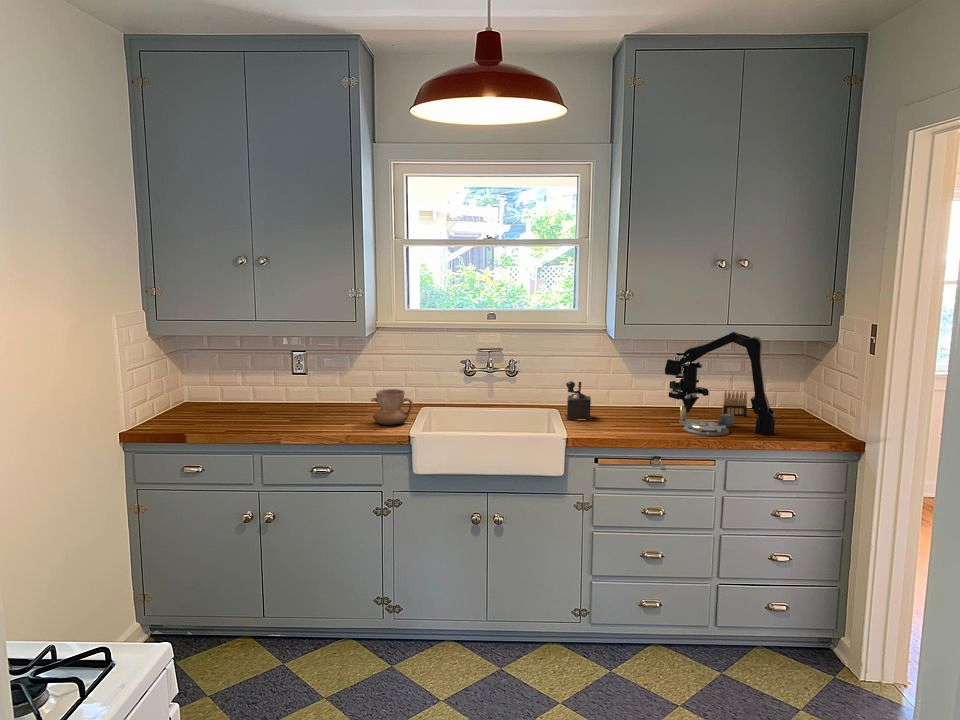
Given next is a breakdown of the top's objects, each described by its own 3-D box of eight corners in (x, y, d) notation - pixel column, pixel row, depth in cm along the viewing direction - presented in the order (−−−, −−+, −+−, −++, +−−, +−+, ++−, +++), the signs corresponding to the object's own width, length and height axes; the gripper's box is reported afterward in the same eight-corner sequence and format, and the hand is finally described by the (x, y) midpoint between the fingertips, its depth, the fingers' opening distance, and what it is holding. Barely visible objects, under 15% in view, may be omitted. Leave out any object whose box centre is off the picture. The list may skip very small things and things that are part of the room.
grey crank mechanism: (732, 428, 288) (733, 411, 287) (711, 434, 279) (712, 416, 278) (690, 419, 304) (691, 403, 303) (669, 424, 294) (670, 408, 293)
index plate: (738, 432, 287) (738, 430, 286) (708, 438, 277) (708, 435, 277) (703, 424, 302) (703, 421, 302) (674, 429, 292) (674, 426, 292)
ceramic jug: (369, 427, 292) (368, 394, 290) (372, 420, 307) (372, 388, 305) (412, 427, 293) (412, 394, 291) (413, 419, 308) (413, 388, 306)
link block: (733, 426, 299) (734, 414, 298) (724, 427, 295) (725, 416, 295) (727, 424, 301) (728, 413, 300) (718, 426, 298) (719, 414, 297)
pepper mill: (565, 414, 319) (566, 376, 316) (590, 415, 317) (591, 376, 314) (564, 422, 303) (565, 382, 301) (590, 423, 302) (591, 382, 299)
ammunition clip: (722, 416, 317) (723, 390, 316) (721, 415, 319) (722, 389, 317) (746, 417, 316) (748, 391, 314) (745, 416, 318) (747, 390, 316)
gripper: (690, 372, 308) (688, 406, 311) (660, 375, 299) (658, 410, 301) (710, 376, 299) (708, 411, 301) (679, 380, 289) (677, 416, 292)
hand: (687, 412), depth 299 cm, fingers closed
